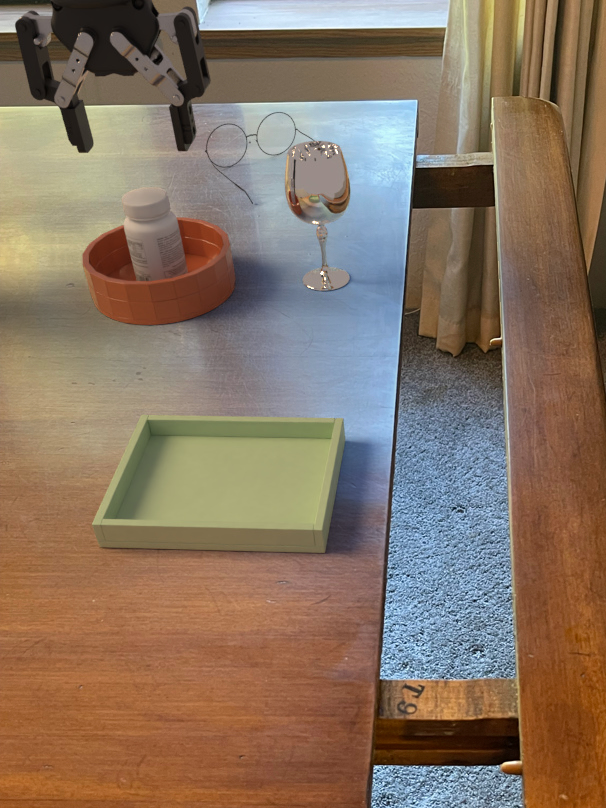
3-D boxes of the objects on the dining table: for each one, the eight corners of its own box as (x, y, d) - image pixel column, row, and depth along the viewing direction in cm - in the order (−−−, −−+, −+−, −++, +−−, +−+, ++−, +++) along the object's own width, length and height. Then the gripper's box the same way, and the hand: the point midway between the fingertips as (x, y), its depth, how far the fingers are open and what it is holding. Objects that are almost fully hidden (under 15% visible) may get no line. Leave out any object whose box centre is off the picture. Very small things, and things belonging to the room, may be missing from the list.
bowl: (74, 324, 85) (62, 283, 82) (116, 255, 94) (106, 216, 92) (219, 325, 84) (212, 284, 81) (247, 256, 93) (241, 217, 91)
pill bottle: (189, 269, 91) (172, 182, 85) (190, 293, 87) (172, 204, 81) (138, 274, 90) (118, 187, 84) (137, 298, 87) (115, 209, 81)
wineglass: (358, 292, 88) (349, 162, 79) (295, 296, 87) (280, 166, 79) (355, 262, 92) (346, 136, 84) (295, 266, 92) (281, 140, 83)
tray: (99, 547, 63) (91, 524, 62) (147, 436, 72) (141, 414, 71) (325, 553, 62) (322, 529, 61) (345, 440, 71) (343, 417, 70)
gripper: (191, -89, 71) (227, 131, 82) (8, -84, 72) (67, 133, 83) (167, -67, 66) (208, 166, 77) (-31, -62, 67) (38, 167, 78)
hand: (135, 148), depth 80 cm, fingers open, 8 cm apart
